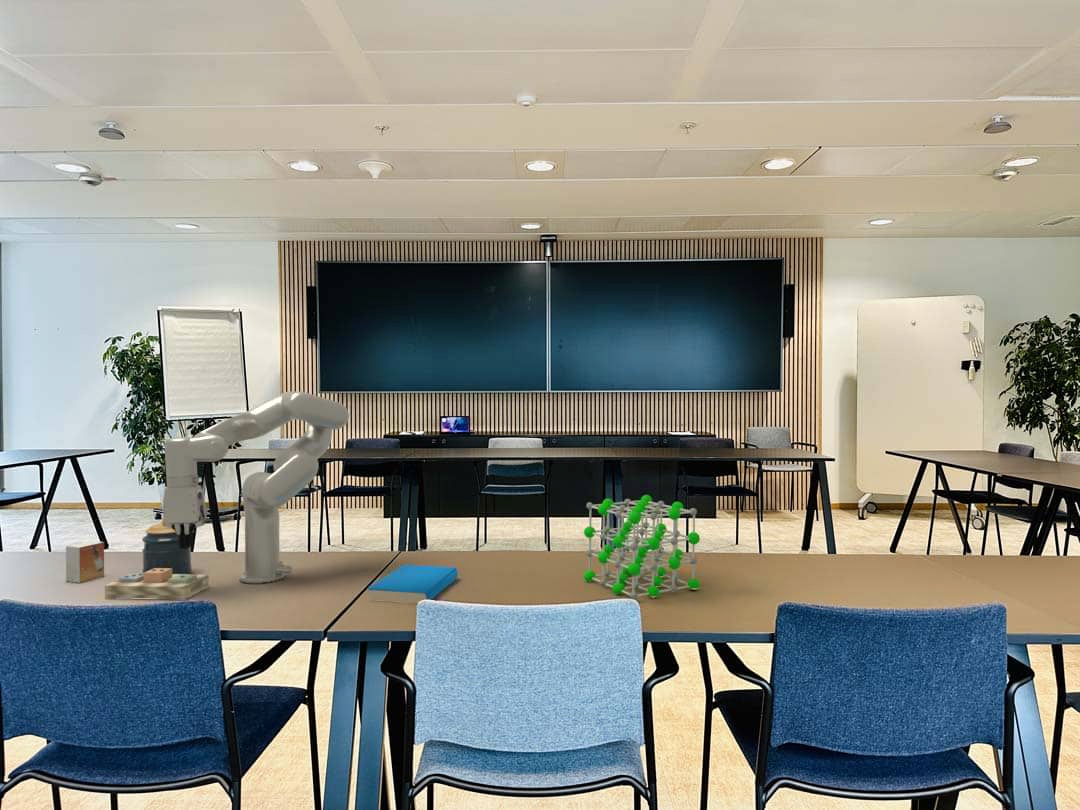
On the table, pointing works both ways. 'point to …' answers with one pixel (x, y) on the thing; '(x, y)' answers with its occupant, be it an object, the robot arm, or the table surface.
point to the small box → (84, 561)
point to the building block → (132, 578)
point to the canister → (165, 550)
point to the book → (413, 583)
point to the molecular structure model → (640, 546)
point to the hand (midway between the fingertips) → (186, 547)
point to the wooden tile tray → (156, 589)
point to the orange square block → (157, 575)
